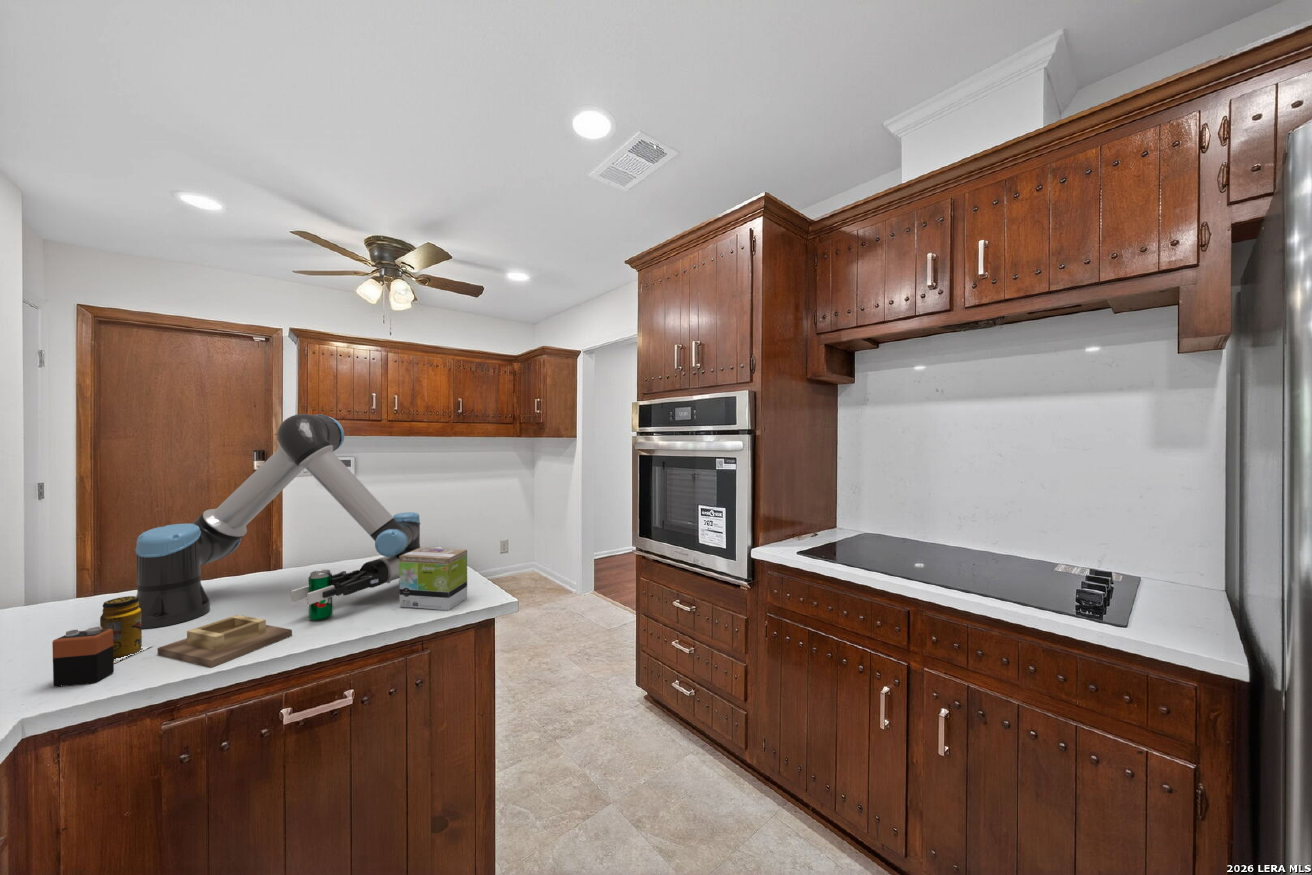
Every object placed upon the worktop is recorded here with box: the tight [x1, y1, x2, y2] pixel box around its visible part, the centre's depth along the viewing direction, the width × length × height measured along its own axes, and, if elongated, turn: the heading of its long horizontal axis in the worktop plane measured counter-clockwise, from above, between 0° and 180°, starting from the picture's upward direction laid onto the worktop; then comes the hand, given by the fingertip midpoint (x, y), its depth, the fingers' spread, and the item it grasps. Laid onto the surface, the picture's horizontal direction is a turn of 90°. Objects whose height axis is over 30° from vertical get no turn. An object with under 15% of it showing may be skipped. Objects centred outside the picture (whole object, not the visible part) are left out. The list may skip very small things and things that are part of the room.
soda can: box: [308, 569, 334, 621], centre depth 125 cm, size 5×5×12 cm
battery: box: [51, 626, 115, 687], centre depth 94 cm, size 4×7×10 cm, turn 104°
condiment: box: [99, 595, 148, 664], centre depth 104 cm, size 7×8×12 cm
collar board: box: [156, 614, 293, 669], centre depth 109 cm, size 18×16×4 cm
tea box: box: [398, 546, 468, 612], centre depth 135 cm, size 15×10×15 cm, turn 82°
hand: (300, 597), depth 120 cm, fingers closed on soda can, 5 cm apart
